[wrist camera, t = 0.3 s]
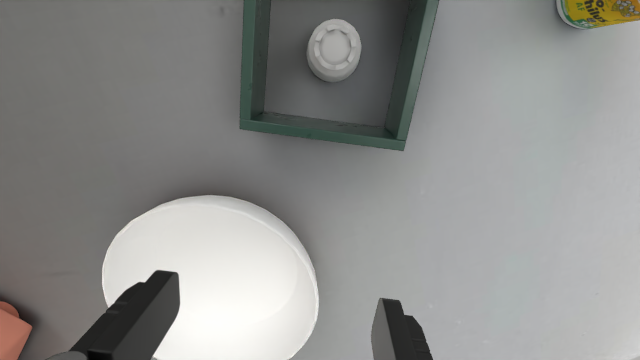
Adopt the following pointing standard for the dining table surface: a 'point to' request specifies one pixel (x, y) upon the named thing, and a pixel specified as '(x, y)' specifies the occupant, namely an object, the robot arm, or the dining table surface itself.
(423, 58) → the holder
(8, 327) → the teapot
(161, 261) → the bowl
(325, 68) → the rook chess piece
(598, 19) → the supplement bottle
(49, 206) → the dining table surface
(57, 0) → the dining table surface
